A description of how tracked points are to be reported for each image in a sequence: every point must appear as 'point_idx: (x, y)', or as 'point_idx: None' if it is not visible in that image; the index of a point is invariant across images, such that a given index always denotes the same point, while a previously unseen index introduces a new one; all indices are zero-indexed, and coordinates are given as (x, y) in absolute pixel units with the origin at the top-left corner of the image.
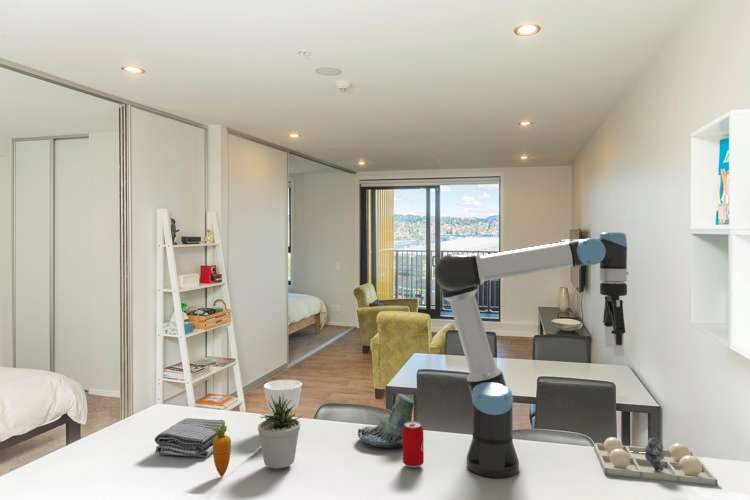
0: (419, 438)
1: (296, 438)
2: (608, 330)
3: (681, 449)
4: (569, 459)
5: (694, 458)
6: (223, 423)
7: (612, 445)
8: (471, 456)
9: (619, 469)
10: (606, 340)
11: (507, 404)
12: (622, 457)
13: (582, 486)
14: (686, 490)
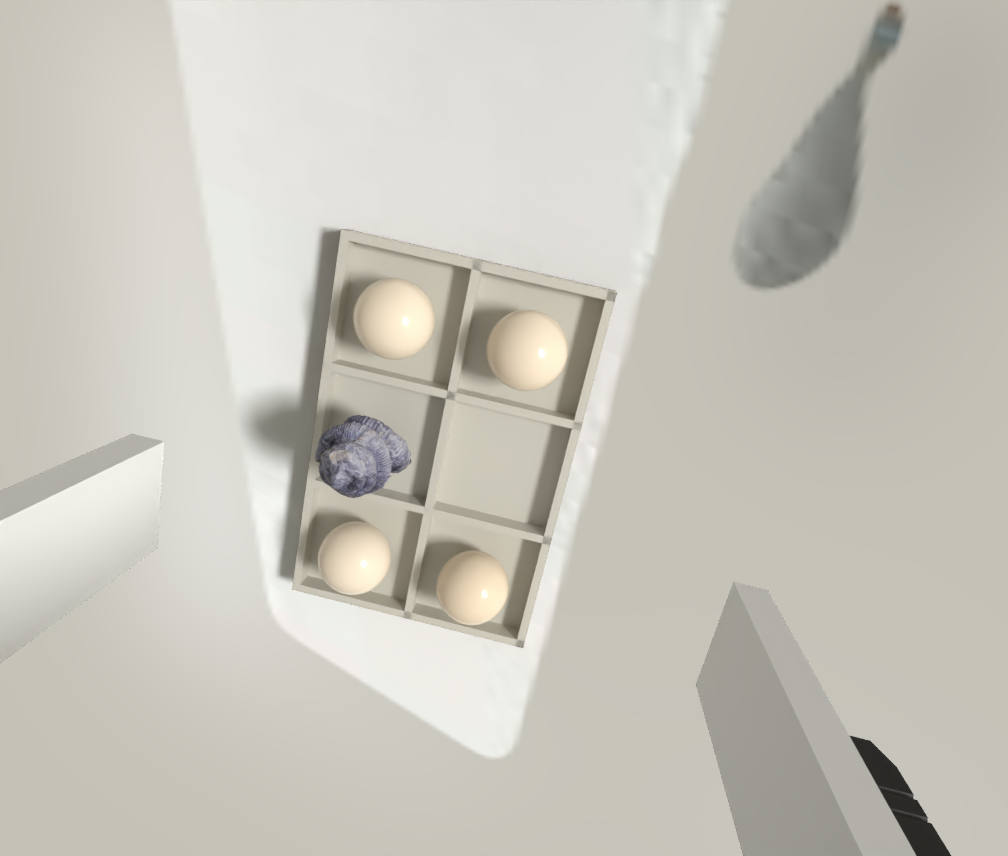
0: None
1: None
2: (797, 835)
3: (441, 590)
4: (494, 125)
5: (330, 579)
6: None
7: (493, 334)
8: None
9: (333, 286)
10: (752, 658)
11: None
12: (354, 317)
13: (239, 93)
14: (265, 469)
